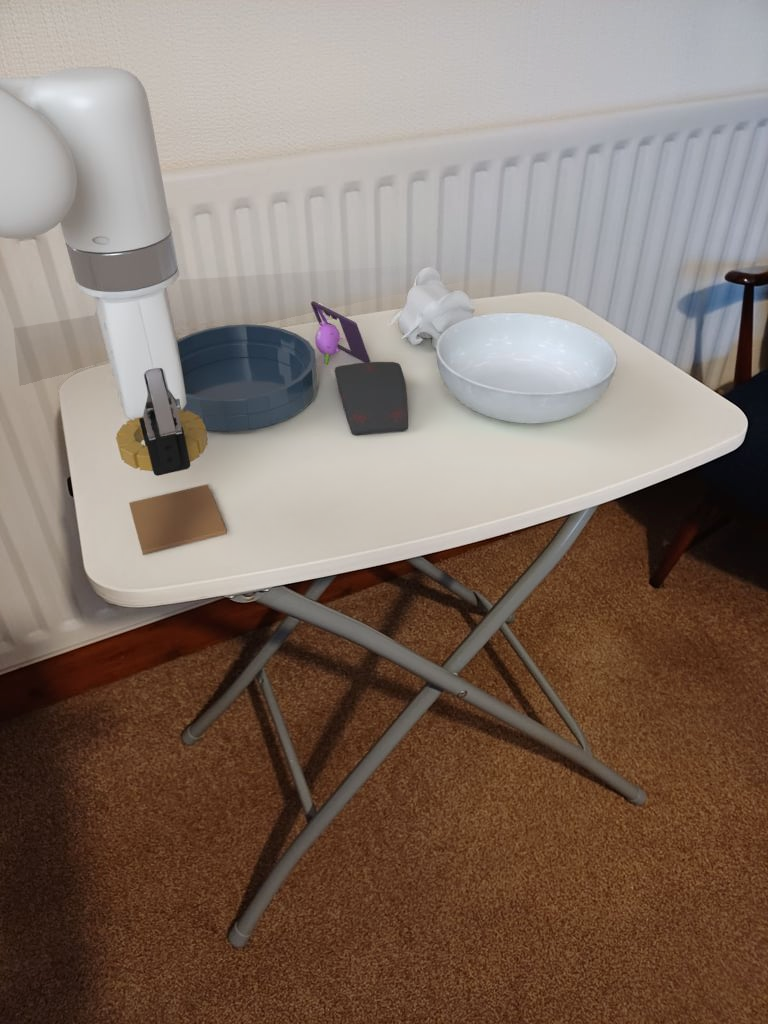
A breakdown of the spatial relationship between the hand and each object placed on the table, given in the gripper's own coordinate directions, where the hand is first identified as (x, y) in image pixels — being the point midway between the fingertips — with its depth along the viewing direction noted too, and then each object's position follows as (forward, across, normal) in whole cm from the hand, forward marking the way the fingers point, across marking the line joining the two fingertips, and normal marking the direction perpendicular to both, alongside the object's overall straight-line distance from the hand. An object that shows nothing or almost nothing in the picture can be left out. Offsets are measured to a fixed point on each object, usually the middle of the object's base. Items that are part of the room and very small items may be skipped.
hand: (169, 460), depth 70 cm
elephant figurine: (+10, -28, +40) cm, 50 cm away
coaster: (+9, -3, 0) cm, 10 cm away
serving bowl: (+10, -10, +43) cm, 45 cm away
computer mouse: (+9, -16, +26) cm, 32 cm away
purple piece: (+10, -29, +26) cm, 40 cm away
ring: (0, -3, 0) cm, 3 cm away
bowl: (+9, -25, +12) cm, 29 cm away
